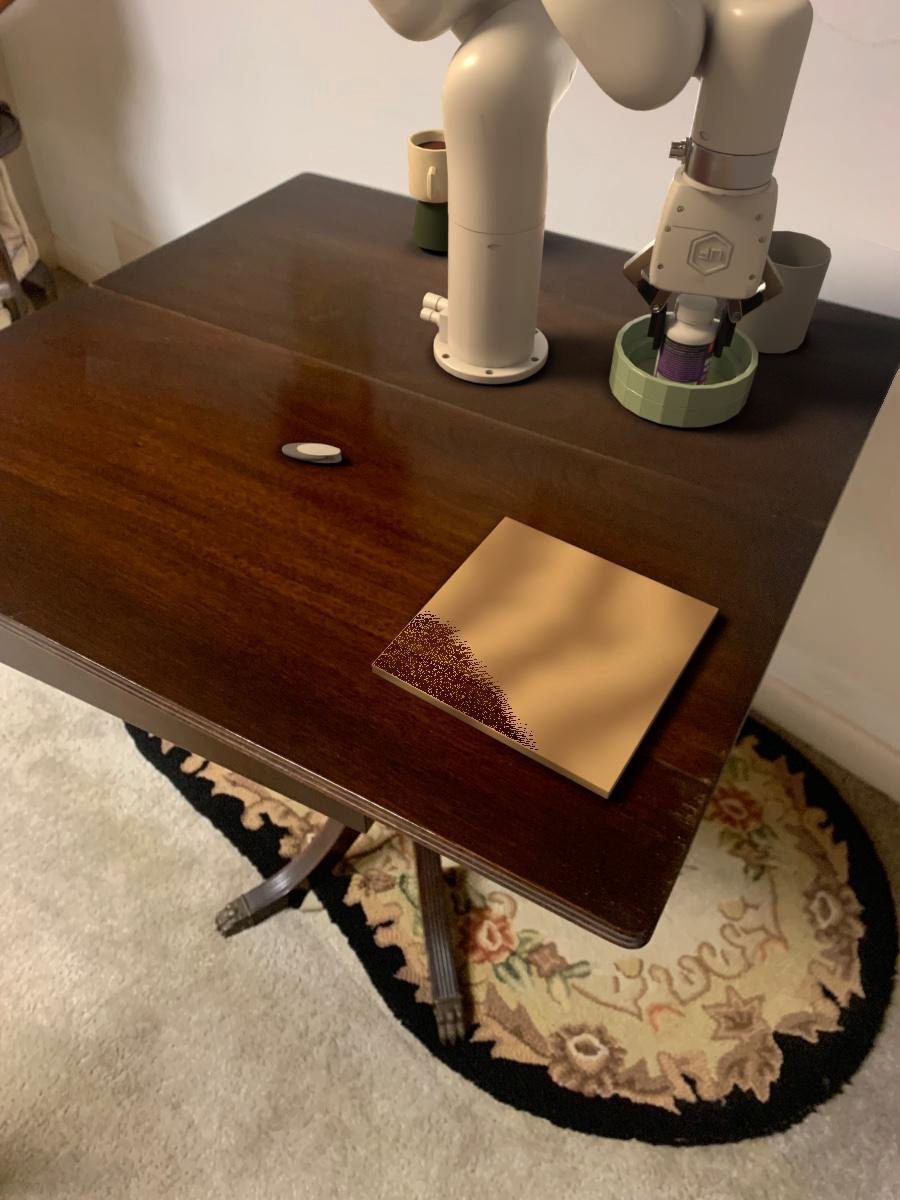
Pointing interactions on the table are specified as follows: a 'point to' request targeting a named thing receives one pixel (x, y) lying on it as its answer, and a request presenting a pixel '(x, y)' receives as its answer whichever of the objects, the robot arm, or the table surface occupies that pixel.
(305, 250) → the table surface
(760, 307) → the cup
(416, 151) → the character mug
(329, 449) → the oval pebble
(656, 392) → the bowl
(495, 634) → the mat
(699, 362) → the pill bottle
